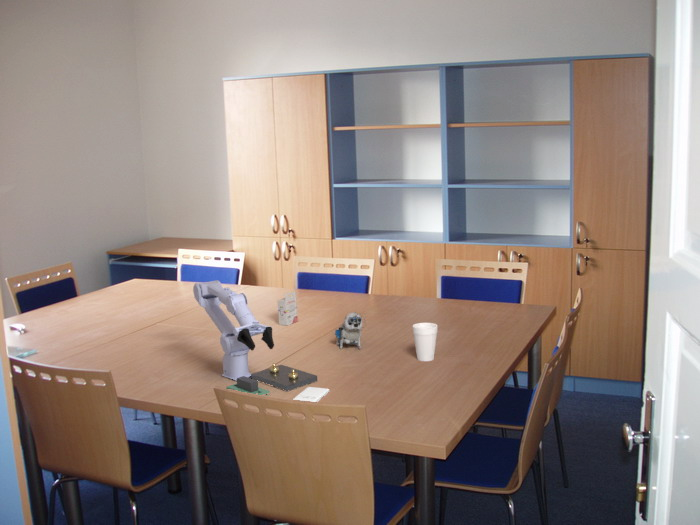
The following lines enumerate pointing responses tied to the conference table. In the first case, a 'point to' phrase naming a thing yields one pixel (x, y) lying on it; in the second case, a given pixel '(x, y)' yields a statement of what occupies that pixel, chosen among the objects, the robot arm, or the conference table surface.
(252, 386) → the board
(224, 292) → the robot arm
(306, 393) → the external hard drive
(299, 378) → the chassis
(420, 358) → the foam cup
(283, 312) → the ink cartridge box
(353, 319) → the robotic toy
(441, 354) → the conference table surface
